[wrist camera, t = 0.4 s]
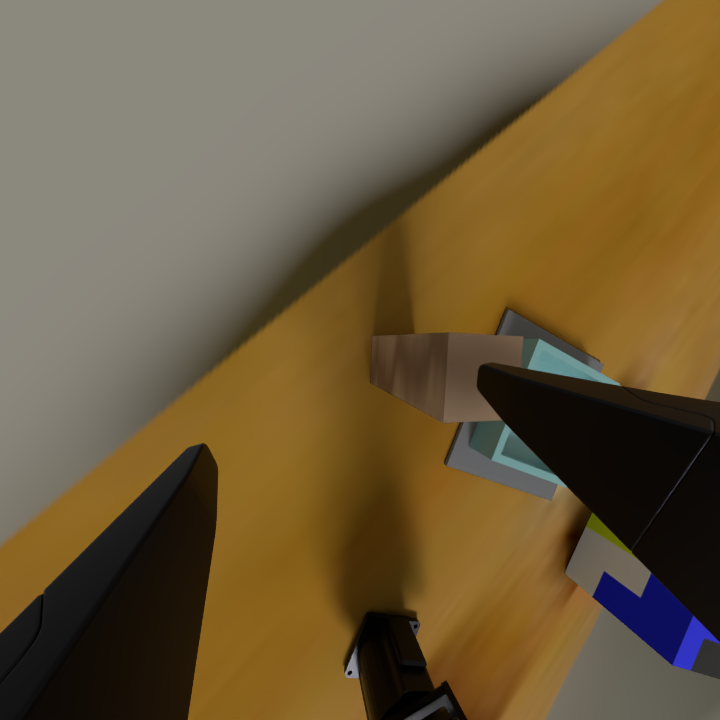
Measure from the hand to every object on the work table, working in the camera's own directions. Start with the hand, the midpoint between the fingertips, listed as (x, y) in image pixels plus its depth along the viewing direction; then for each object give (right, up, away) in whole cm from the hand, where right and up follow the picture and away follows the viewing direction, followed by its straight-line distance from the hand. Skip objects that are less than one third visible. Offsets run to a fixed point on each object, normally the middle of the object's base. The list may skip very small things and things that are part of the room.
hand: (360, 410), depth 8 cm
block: (+3, +2, +17) cm, 18 cm away
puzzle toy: (+33, -24, +27) cm, 49 cm away
